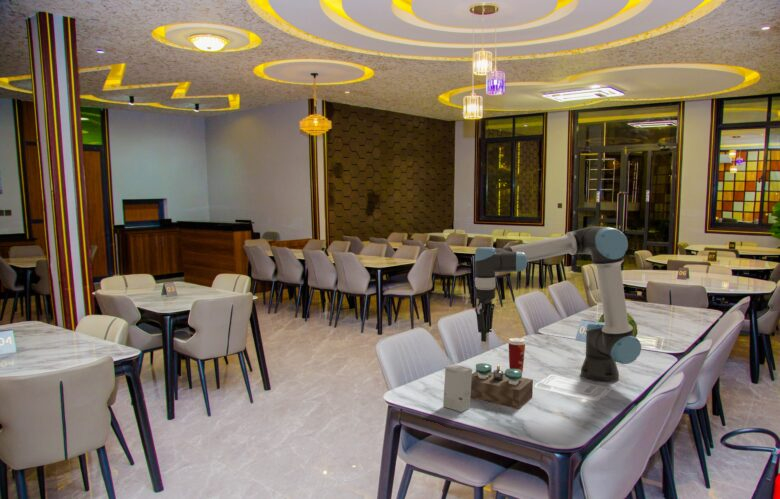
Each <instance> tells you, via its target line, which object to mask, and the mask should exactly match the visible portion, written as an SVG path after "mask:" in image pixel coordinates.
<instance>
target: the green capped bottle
mask: <svg viewBox="0 0 780 499" xmlns="http://www.w3.org/2000/svg"><path fill="white" fill-rule="evenodd" d="M504 372H505V373H504V374H505V376H506V377H507V378H508V384H514V385H518V384H519V379H520V378H523V372H522V371H521V370H519V369H510V368H506V369H505V371H504Z"/></svg>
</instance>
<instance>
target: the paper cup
mask: <svg viewBox="0 0 780 499" xmlns="http://www.w3.org/2000/svg"><path fill="white" fill-rule="evenodd" d="M507 343H508V361H509V364H508V366H509V369H519V370H521V371H522V373H523V371H524V362H525V351H526V350H525V348H526V344H527V342H526V341H525V339H524V338H520V337H511V338H509V339H508V341H507Z"/></svg>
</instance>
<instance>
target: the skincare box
mask: <svg viewBox="0 0 780 499" xmlns="http://www.w3.org/2000/svg"><path fill="white" fill-rule="evenodd" d="M444 370H445V372H444V383H443V384H444V385H443V386H444V389H443V402H442V403H443V404H442V406H443V408H447V409H450V410H454V411H456V412H459V413H463V412H465V411H467V410H469V409H471V398H470V397H471V381H472V374H473V368H470V367H466V366H463V365H459V364H455V363H452V364H450V365H446V366H445V369H444Z"/></svg>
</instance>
